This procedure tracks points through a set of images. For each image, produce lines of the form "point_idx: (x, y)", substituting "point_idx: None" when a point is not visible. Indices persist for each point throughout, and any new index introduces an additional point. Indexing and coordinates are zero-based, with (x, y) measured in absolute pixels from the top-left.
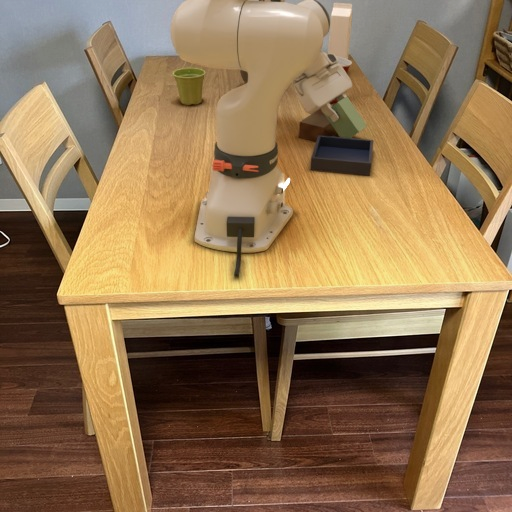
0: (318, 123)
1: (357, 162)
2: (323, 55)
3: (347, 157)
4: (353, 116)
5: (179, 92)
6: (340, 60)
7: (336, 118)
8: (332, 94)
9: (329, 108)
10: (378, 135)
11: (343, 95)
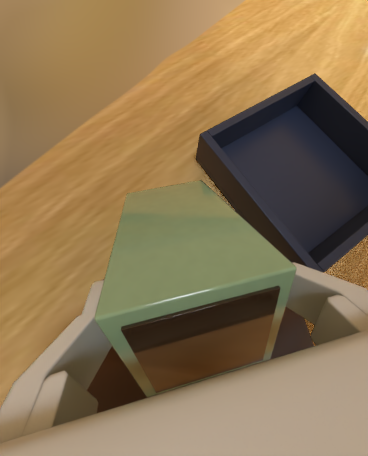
0: (281, 338)
1: (337, 95)
2: None
3: (281, 169)
4: (182, 207)
5: None
6: None
7: None
8: (335, 416)
9: (352, 284)
10: (85, 204)
11: (49, 404)
